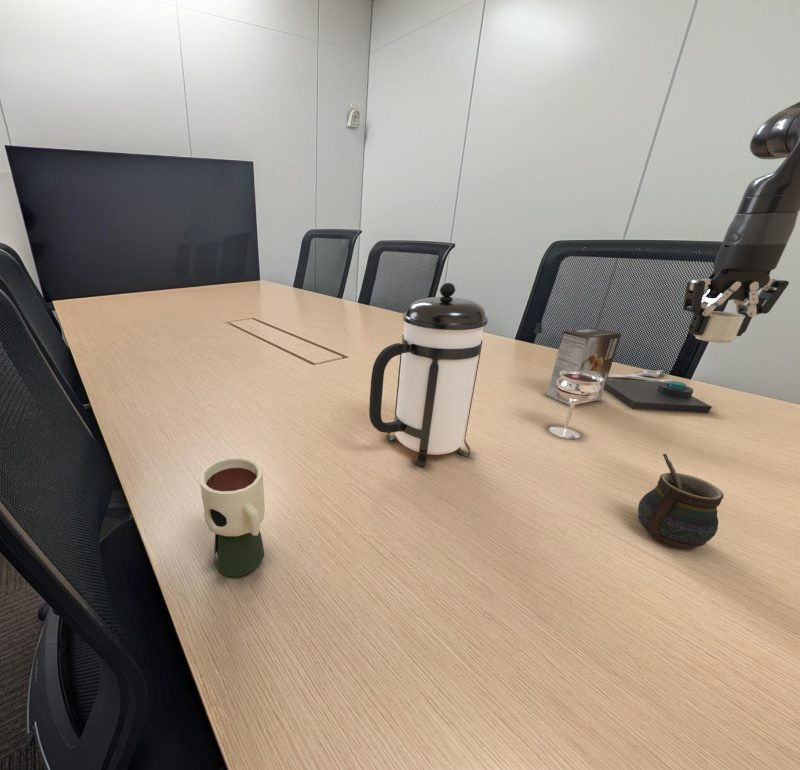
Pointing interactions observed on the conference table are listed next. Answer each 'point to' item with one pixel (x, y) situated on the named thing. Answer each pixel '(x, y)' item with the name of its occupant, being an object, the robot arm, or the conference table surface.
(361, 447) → the conference table surface
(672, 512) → the mate gourd
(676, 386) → the tare button
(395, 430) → the coffee press
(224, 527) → the character mug
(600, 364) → the coffee box
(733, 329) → the bowl
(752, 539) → the conference table surface
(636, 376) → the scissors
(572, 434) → the wineglass
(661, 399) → the scale
